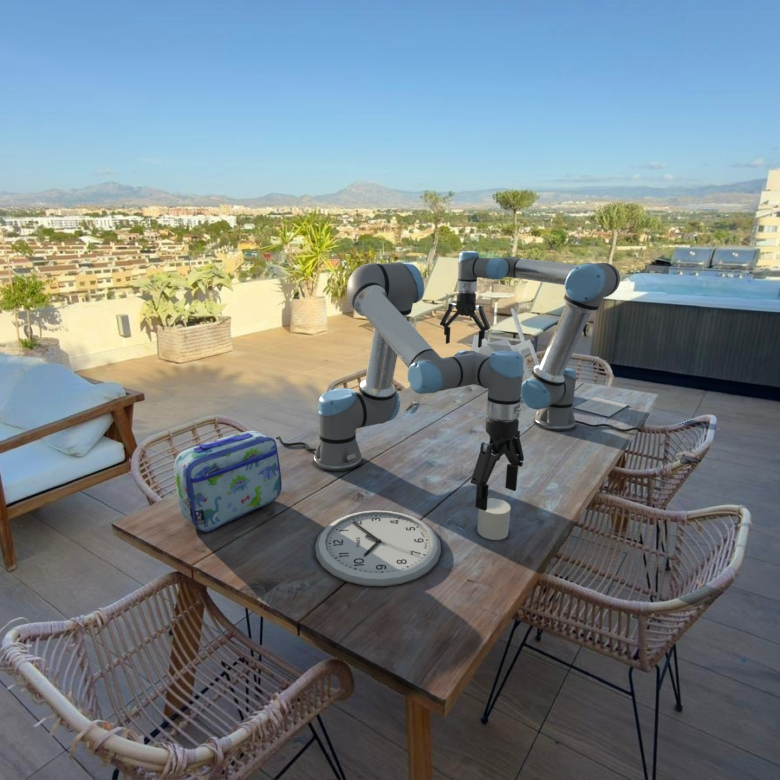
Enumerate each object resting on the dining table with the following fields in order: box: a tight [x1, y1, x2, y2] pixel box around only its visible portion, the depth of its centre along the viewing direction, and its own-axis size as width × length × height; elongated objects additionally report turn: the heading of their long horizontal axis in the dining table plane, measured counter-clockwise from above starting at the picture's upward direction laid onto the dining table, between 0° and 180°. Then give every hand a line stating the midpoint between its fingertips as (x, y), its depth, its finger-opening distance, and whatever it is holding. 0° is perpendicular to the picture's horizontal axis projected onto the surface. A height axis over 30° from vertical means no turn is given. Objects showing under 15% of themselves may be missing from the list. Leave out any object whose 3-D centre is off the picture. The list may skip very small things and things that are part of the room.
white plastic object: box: [470, 307, 540, 380], centre depth 255 cm, size 37×45×31 cm
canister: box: [476, 497, 512, 541], centre depth 131 cm, size 8×8×7 cm
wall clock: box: [314, 509, 442, 587], centre depth 125 cm, size 30×2×30 cm
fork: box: [405, 396, 421, 411], centre depth 222 cm, size 3×16×2 cm, turn 160°
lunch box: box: [173, 430, 283, 533], centre depth 135 cm, size 26×11×21 cm, turn 134°
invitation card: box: [573, 396, 629, 418], centre depth 226 cm, size 21×1×15 cm
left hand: (496, 498), depth 129 cm, fingers open, 13 cm apart
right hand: (463, 345), depth 212 cm, fingers open, 13 cm apart
